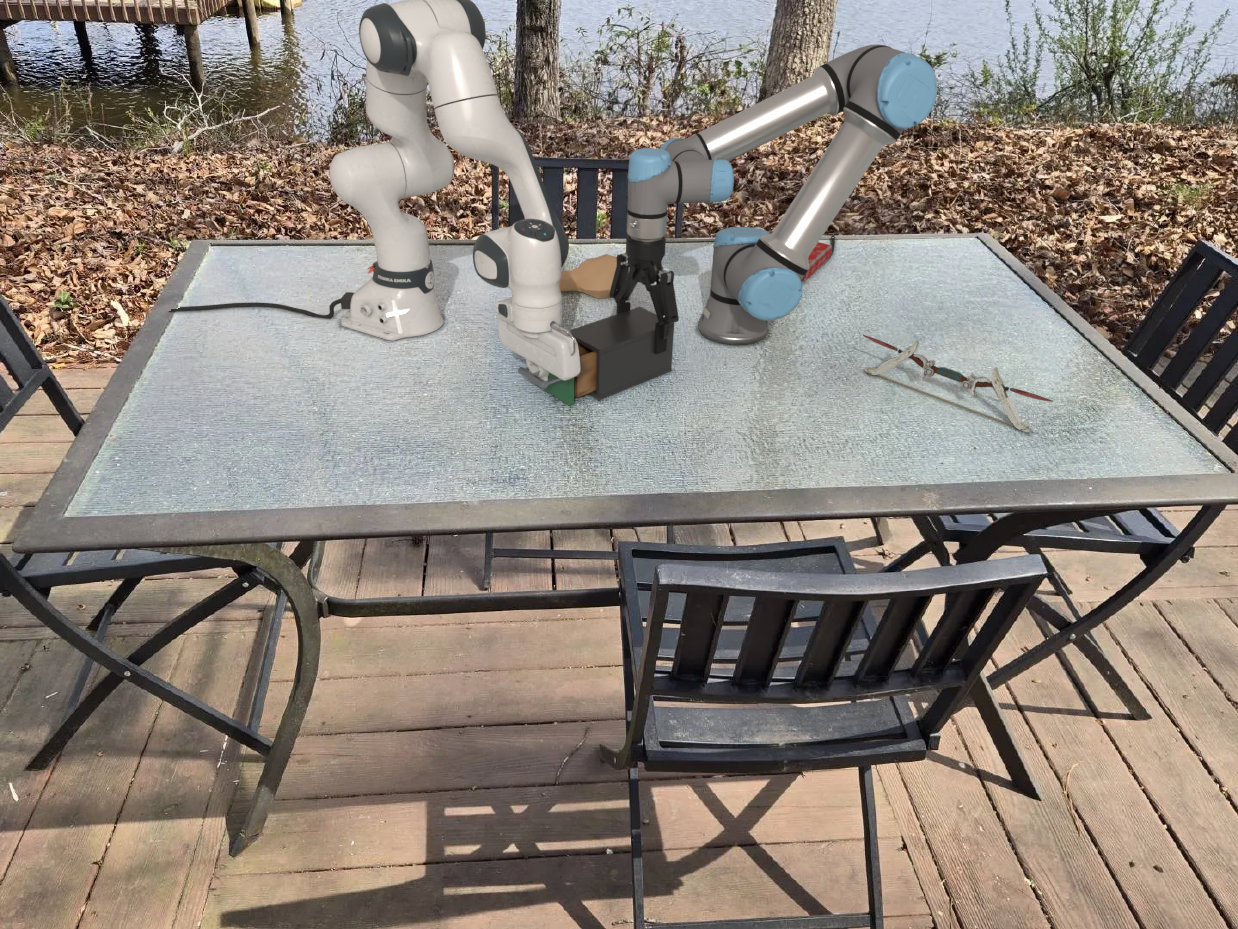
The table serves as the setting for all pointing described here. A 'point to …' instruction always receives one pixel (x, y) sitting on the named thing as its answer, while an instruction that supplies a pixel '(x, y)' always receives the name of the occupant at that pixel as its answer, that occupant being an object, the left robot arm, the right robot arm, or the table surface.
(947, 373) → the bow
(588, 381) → the drawer
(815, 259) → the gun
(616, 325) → the dark grey box
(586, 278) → the squash
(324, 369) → the table surface
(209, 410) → the table surface
